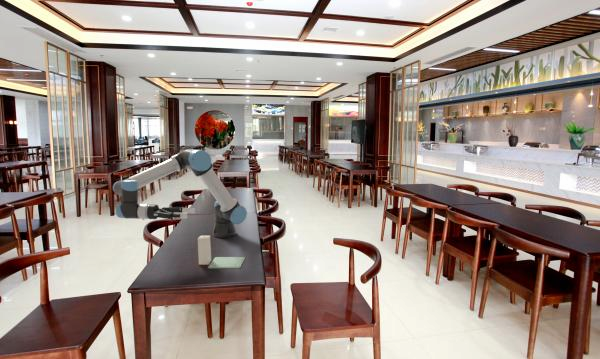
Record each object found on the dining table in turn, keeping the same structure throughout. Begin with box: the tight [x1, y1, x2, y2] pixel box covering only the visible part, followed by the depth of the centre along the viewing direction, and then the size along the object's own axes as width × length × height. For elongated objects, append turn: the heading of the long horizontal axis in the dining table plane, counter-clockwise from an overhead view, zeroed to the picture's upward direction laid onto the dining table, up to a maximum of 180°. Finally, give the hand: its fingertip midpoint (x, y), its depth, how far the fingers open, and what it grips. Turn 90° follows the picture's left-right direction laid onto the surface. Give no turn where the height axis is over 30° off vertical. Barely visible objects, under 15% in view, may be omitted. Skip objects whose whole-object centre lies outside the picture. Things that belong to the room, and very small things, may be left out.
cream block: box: [197, 235, 212, 266], centre depth 179 cm, size 5×5×14 cm
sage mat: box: [207, 256, 246, 269], centre depth 179 cm, size 14×16×1 cm
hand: (191, 213), depth 177 cm, fingers open, 13 cm apart
